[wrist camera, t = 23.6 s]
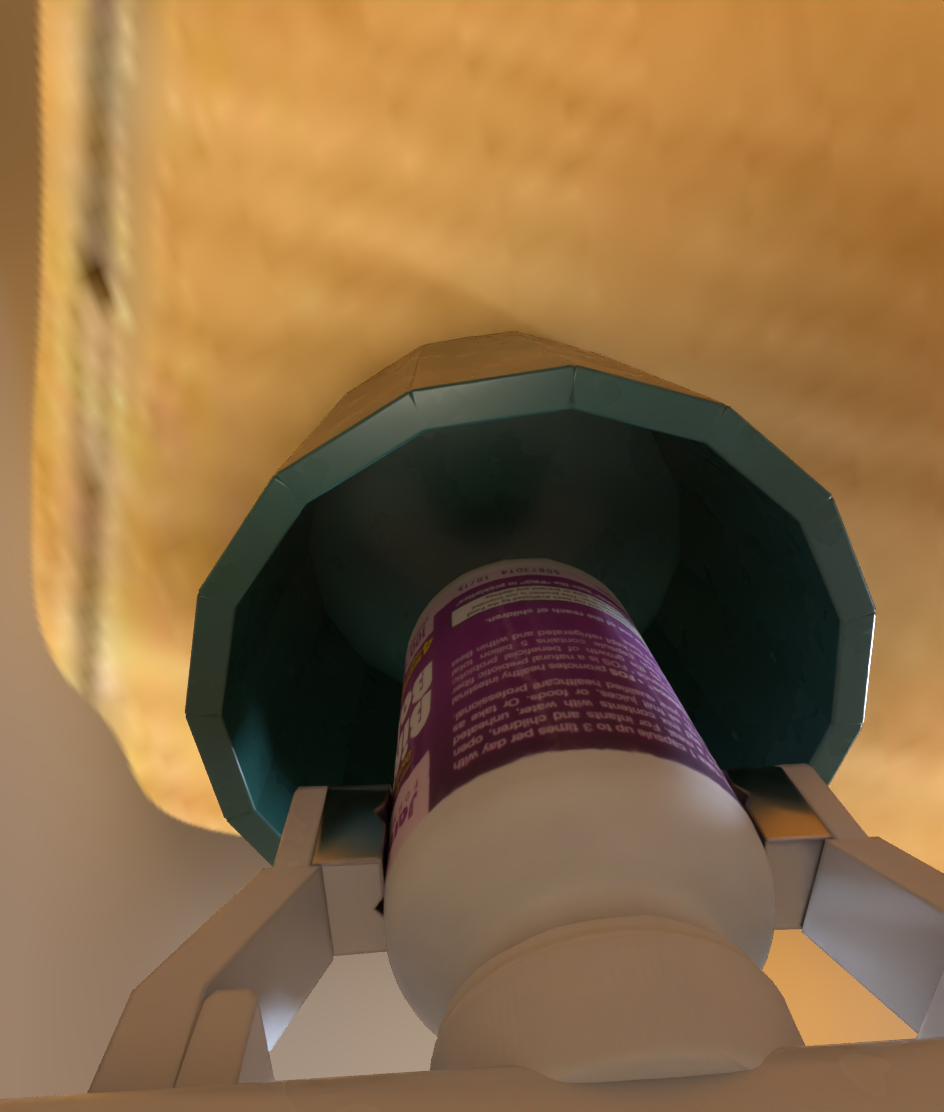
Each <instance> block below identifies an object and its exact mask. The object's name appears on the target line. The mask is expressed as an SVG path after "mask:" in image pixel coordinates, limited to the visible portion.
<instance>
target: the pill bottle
mask: <svg viewBox="0 0 944 1112" xmlns="http://www.w3.org/2000/svg"><path fill="white" fill-rule="evenodd" d="M775 912H776V901H775V890H774V881H773V876H772V871H771V867H770V864H769V861H768V858H767V855H766V852H765V849H764V847H763V845H762V842H761V840H760V838H759V836H758V834H757V832H756V830H755V827H754V825H753V823H752V821H751V819H750V818H749V816H748V814H747V812H746V811H745V809H744V807H743V805H742V804H741V802H740V801H739V799H738V798H737V797H736V795H735V794H734V792H733V790H732V789H731V787H730V785H729V783H728V782H727V780H726V778H725V777H724V775H723V773H722V771H721V770H720V768H719V767H718V765H717V763H716V761H715V760H714V758H713V757H712V755H711V753H710V752H709V750H708V748H707V746H706V745H705V743H704V741H703V740H702V738H701V736H700V735H699V733H698V732H697V730H696V728H695V727H694V725H693V723H692V722H691V720H690V718H689V716H688V715H687V713H686V711H685V709H684V708H683V706H682V704H681V703H680V701H679V699H678V698H677V696H676V694H675V693H674V691H673V689H672V688H671V686H670V684H669V683H668V681H667V679H666V677H665V676H664V674H663V672H662V671H661V669H660V667H659V665H658V664H657V662H656V660H655V659H654V657H653V655H652V654H651V652H650V650H649V649H648V647H647V645H646V644H645V642H644V640H643V638H642V636H641V635H640V633H639V631H638V630H637V628H636V626H635V625H634V623H633V621H632V620H631V618H630V616H629V615H628V613H627V612H626V610H625V608H624V607H623V606H622V604H621V603H620V601H619V600H618V599H617V598H616V596H615V595H614V594H613V593H612V592H611V591H610V590H609V589H608V588H607V587H606V586H605V585H604V584H603V583H601V582H600V581H599V580H597V579H596V578H595V577H593V576H591V575H589V574H587V573H585V572H584V571H582V570H580V569H577V568H575V567H573V566H570V565H568V564H565V563H561V562H558V561H554V560H551V559H547V558H522V559H509V560H501V561H498V562H494V563H491V564H487V565H484V566H481V567H478V568H476V569H473V570H471V571H469V572H466V573H464V574H462V575H460V576H459V577H458V578H456V579H455V580H454V581H452V582H451V583H449V584H448V585H447V586H445V587H444V588H443V589H442V590H441V591H440V592H439V593H438V594H437V595H436V596H435V597H434V598H433V599H432V600H431V601H430V603H429V604H428V605H427V607H426V608H425V609H424V611H423V612H422V614H421V615H420V617H419V619H418V621H417V623H416V625H415V627H414V629H413V631H412V634H411V637H410V640H409V643H408V648H407V654H406V661H405V670H404V679H403V688H402V698H401V710H400V719H399V729H398V742H397V753H396V761H395V774H394V785H393V793H392V810H391V818H390V825H389V842H388V855H387V864H386V874H385V884H384V918H383V923H384V937H385V945H386V950H387V954H388V957H389V962H390V965H391V968H392V971H393V974H394V976H395V979H396V982H397V984H398V986H399V988H400V990H401V992H402V994H403V995H404V997H405V999H406V1000H407V1002H408V1003H409V1005H410V1006H411V1008H412V1009H413V1011H414V1012H415V1013H416V1015H417V1016H418V1017H419V1018H420V1020H421V1021H422V1022H423V1023H424V1025H425V1026H426V1027H427V1028H428V1029H429V1030H431V1031H432V1032H433V1033H434V1034H435V1035H436V1036H437V1037H438V1039H437V1040H436V1043H435V1047H434V1051H433V1056H432V1059H431V1068H430V1071H433V1070H449V1069H464V1068H479V1067H494V1066H509V1065H513V1066H524V1067H527V1068H530V1069H533V1070H535V1071H537V1072H539V1073H541V1074H543V1075H545V1076H546V1077H549V1078H551V1079H554V1080H556V1081H560V1082H565V1083H596V1082H612V1081H626V1080H642V1079H660V1078H674V1077H686V1076H698V1075H710V1074H722V1073H732V1072H738V1071H745V1070H752V1069H754V1068H756V1067H758V1066H760V1065H761V1064H762V1062H763V1061H764V1059H765V1057H766V1056H767V1055H769V1054H770V1053H771V1052H772V1051H774V1050H775V1049H777V1048H783V1047H798V1046H805V1044H804V1042H803V1040H802V1037H801V1035H800V1033H799V1031H798V1029H797V1027H796V1025H795V1022H794V1020H793V1018H792V1015H791V1013H790V1011H789V1009H788V1006H787V1004H786V1002H785V999H784V997H783V996H782V994H781V993H780V991H779V990H778V988H777V987H776V985H775V984H774V983H773V981H772V980H771V979H770V978H769V977H768V976H767V975H766V974H765V973H764V972H763V971H762V969H763V967H764V965H765V963H766V960H767V958H768V954H769V950H770V947H771V943H772V939H773V933H774V927H775Z"/></svg>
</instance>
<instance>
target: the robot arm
mask: <svg viewBox="0 0 944 1112" xmlns="http://www.w3.org/2000/svg"><path fill="white" fill-rule="evenodd" d="M720 770H721V771H722V773H723V775H724V777H725V778H726V780H727V782H728V783H729V785H730V787H731V789H732V790H733V792H734V794H735V795H736V797H737V798H738V799H739V801H740V802H741V804H742V805H743V807H744V809H745V811H746V812H747V814H748V816H749V818H750V819H751V821H752V823H753V825H754V827H755V830H756V832H757V834H758V836H759V838H760V840H761V842H762V845H763V847H764V849H765V852H766V855H767V858H768V861H769V864H770V867H771V871H772V876H773V881H774V890H775V901H776V912H775V927H774V930H779V929H780V930H784V929H802V933H803V934H805V935H806V936H807V937H808V938H809V939H810V940H812V941H813V942H814V943H815V944H816V945H817V946H819V948H821V949H822V950H823V951H824V952H825V953H826V954H827V955H828V956H830V957H831V958H832V959H833V960H834V961H835V962H837V963H838V964H839V965H840V966H841V967H842V968H843V969H844V970H846V971H847V972H848V973H849V974H850V975H851V976H853V977H854V978H855V979H856V980H857V981H858V982H859V983H860V984H862V985H863V986H864V987H865V988H866V989H868V991H870V992H871V993H872V994H873V995H874V996H875V997H876V998H878V999H879V1000H880V1001H881V1002H882V1003H883V1004H884V1005H885V1006H887V1007H888V1008H889V1009H890V1010H891V1011H892V1012H893V1013H895V1014H896V1015H897V1016H898V1017H899V1018H900V1019H902V1020H903V1021H904V1022H905V1023H906V1024H907V1025H908V1026H909V1027H911V1028H912V1029H913V1030H914V1031H915V1032H916V1033H917V1034H918V1035H917V1038H916V1039H901V1040H888V1041H872V1042H857V1043H843V1044H829V1045H814V1046H798V1047H783V1048H777V1049H775V1050H774V1051H772V1052H771V1053H770V1054H769V1055H767V1056H766V1057H765V1059H764V1061H763V1062H762V1064H761V1065H760V1066H758V1067H756V1068H754V1069H752V1070H745V1071H738V1072H732V1073H722V1074H710V1075H698V1076H686V1077H674V1078H660V1079H642V1080H626V1081H612V1082H596V1083H565V1082H560V1081H556V1080H554V1079H551V1078H549V1077H546V1076H545V1075H543V1074H541V1073H539V1072H537V1071H535V1070H533V1069H530V1068H527V1067H524V1066H513V1065H509V1066H494V1067H479V1068H464V1069H449V1070H433V1071H419V1072H403V1073H388V1074H373V1075H358V1076H343V1077H328V1078H312V1079H299V1080H283V1081H275V1080H274V1075H273V1070H272V1065H271V1060H270V1055H269V1052H270V1051H271V1049H272V1048H273V1047H274V1045H275V1043H276V1042H277V1041H278V1039H279V1038H280V1036H281V1035H282V1033H283V1032H284V1031H285V1029H286V1028H287V1026H288V1025H289V1023H290V1022H291V1020H292V1019H293V1018H294V1016H295V1014H296V1013H297V1012H298V1010H299V1008H300V1007H301V1006H302V1004H303V1003H304V1001H305V1000H306V999H307V997H308V996H309V994H310V993H311V991H312V990H313V988H314V987H315V986H316V984H317V983H318V981H319V980H320V978H321V977H322V975H323V974H324V973H325V971H326V970H327V968H328V967H329V965H330V964H331V962H332V961H333V956H338V955H339V956H340V955H351V954H363V953H374V952H385V951H387V950H386V945H385V937H384V923H383V918H384V884H385V874H386V864H387V855H388V842H389V825H390V818H391V810H392V789H391V785H390V784H364V785H330V786H302V787H298V788H297V790H296V791H295V793H294V795H293V799H292V802H291V806H290V809H289V813H288V816H287V820H286V823H285V827H284V830H283V834H282V837H281V841H280V844H279V848H278V851H277V855H276V858H275V862H274V865H273V868H264V869H262V870H261V871H260V872H259V873H258V874H257V875H256V876H255V877H254V878H253V879H251V881H249V882H248V883H247V884H246V885H245V886H244V887H243V888H242V889H241V890H240V891H239V892H238V893H237V894H235V895H234V896H233V897H232V898H231V899H230V900H229V901H228V902H227V903H226V904H225V905H224V906H223V907H222V908H220V910H218V911H217V912H216V913H215V914H214V915H213V916H212V917H211V918H210V919H209V920H208V921H207V922H206V923H204V924H203V925H202V926H201V927H200V928H199V929H198V930H197V931H196V932H195V933H194V934H193V935H192V936H191V937H190V938H188V939H187V940H186V941H185V942H184V943H183V944H182V945H181V946H180V947H179V948H178V949H177V950H176V951H175V952H173V953H172V954H171V955H170V956H169V957H168V958H167V959H166V960H165V961H164V962H163V963H162V964H161V965H160V966H159V967H157V968H156V969H155V970H154V971H153V972H152V973H151V974H150V975H149V976H148V977H147V978H146V979H145V980H144V981H142V982H141V984H139V985H138V986H137V987H136V988H135V989H134V990H133V991H132V992H131V995H130V997H129V999H128V1002H127V1004H126V1006H125V1008H124V1011H123V1013H122V1015H121V1017H120V1020H119V1022H118V1024H117V1026H116V1029H115V1031H114V1033H113V1036H112V1038H111V1040H110V1042H109V1045H108V1047H107V1049H106V1052H105V1054H104V1056H103V1059H102V1061H101V1063H100V1065H99V1067H98V1070H97V1072H96V1074H95V1077H94V1079H93V1081H92V1083H91V1086H90V1088H89V1090H88V1092H87V1093H86V1094H71V1095H57V1096H56V1095H55V1096H41V1097H25V1098H10V1099H0V1112H944V874H943V873H942V872H940V871H938V870H936V869H934V868H933V867H931V866H929V865H927V864H926V863H924V862H922V861H920V860H918V859H917V858H915V857H913V856H911V855H910V854H908V853H906V852H904V851H903V850H901V849H899V848H897V847H895V846H894V845H892V844H890V843H888V842H887V841H885V840H883V839H881V838H879V837H868V836H867V834H866V833H865V832H864V831H863V829H862V828H861V827H860V826H859V824H858V823H857V822H856V821H855V819H854V818H853V817H852V816H851V814H850V813H849V812H848V811H847V810H846V808H845V807H844V806H843V805H842V803H841V802H840V801H839V800H838V798H837V797H836V796H835V795H834V793H833V792H832V791H831V790H830V788H829V787H828V786H827V785H826V784H825V782H824V781H823V780H822V779H821V777H820V776H819V775H818V774H817V772H816V771H815V770H814V769H813V768H812V767H811V766H809V765H808V764H806V763H800V764H784V765H775V766H759V767H740V768H722V769H720Z"/></svg>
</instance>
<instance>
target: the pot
mask: <svg viewBox="0 0 944 1112" xmlns="http://www.w3.org/2000/svg"><path fill="white" fill-rule="evenodd" d="M522 558H547V559H551V560H554V561H558V562H561V563H565V564H568V565H570V566H573V567H575V568H577V569H580V570H582V571H584V572H585V573H587V574H589V575H591V576H593V577H595V578H596V579H597V580H599V581H600V582H601V583H603V584H604V585H605V586H606V587H607V588H608V589H609V590H610V591H611V592H612V593H613V594H614V595H615V596H616V598H617V599H618V600H619V601H620V603H621V604H622V606H623V607H624V608H625V610H626V612H627V613H628V615H629V616H630V618H631V620H632V621H633V623H634V625H635V626H636V628H637V630H638V631H639V633H640V635H641V636H642V638H643V640H644V642H645V644H646V645H647V647H648V649H649V650H650V652H651V654H652V655H653V657H654V659H655V660H656V662H657V664H658V665H659V667H660V669H661V671H662V672H663V674H664V676H665V677H666V679H667V681H668V683H669V684H670V686H671V688H672V689H673V691H674V693H675V694H676V696H677V698H678V699H679V701H680V703H681V704H682V706H683V708H684V709H685V711H686V713H687V715H688V716H689V718H690V720H691V722H692V723H693V725H694V727H695V728H696V730H697V732H698V733H699V735H700V736H701V738H702V740H703V741H704V743H705V745H706V746H707V748H708V750H709V752H710V753H711V755H712V757H713V758H714V760H715V761H716V763H717V765H718V767H719V768H720V769H722V768H740V767H759V766H775V765H784V764H800V763H806V764H808V765H809V766H811V767H812V768H813V769H814V770H815V771H816V772H817V774H818V775H819V776H820V777H821V779H822V780H823V781H824V782H825V784H826V785H827V786H829V784H830V782H831V781H832V779H833V777H834V775H835V774H836V772H837V770H838V768H839V767H840V765H841V763H842V761H843V760H844V758H845V756H846V754H847V753H848V751H849V749H850V748H851V746H852V744H853V742H854V741H855V739H856V737H857V735H858V734H859V732H860V730H861V728H862V723H863V722H864V718H865V709H866V700H867V691H868V682H869V673H870V664H871V655H872V646H873V637H874V628H875V619H876V613H875V610H876V608H875V605H874V603H873V600H872V597H871V595H870V592H869V590H868V587H867V584H866V582H865V579H864V576H863V574H862V571H861V569H860V566H859V563H858V561H857V558H856V556H855V553H854V550H853V548H852V545H851V543H850V540H849V537H848V535H847V532H846V530H845V527H844V524H843V522H842V519H841V517H840V514H839V511H838V509H837V506H836V504H835V501H834V498H832V496H831V494H830V493H829V492H828V491H827V490H826V489H825V488H824V487H822V486H821V485H820V484H819V483H818V482H817V481H815V480H814V479H813V478H812V477H811V476H810V475H809V474H807V473H806V472H805V471H804V470H803V469H802V468H800V467H799V466H798V465H797V464H796V463H795V462H793V461H792V460H791V459H790V458H789V457H788V456H787V455H785V454H784V453H783V452H782V451H781V450H780V449H778V448H777V447H776V446H775V445H774V444H773V443H771V442H770V441H769V440H768V439H767V438H766V437H765V436H763V435H762V434H761V433H760V432H759V431H758V430H756V429H755V428H754V427H753V426H752V425H751V424H749V423H748V422H747V421H746V420H745V419H744V418H743V417H741V416H740V415H739V414H738V413H737V412H736V411H734V410H733V409H732V408H731V407H730V406H727V405H725V404H724V403H721V402H719V401H716V400H714V399H711V398H709V397H706V396H704V395H701V394H699V393H696V392H694V391H691V390H689V389H686V388H684V387H681V386H679V385H676V384H674V383H671V382H669V381H666V380H664V379H661V378H659V377H656V376H654V375H651V374H648V373H646V372H643V371H641V370H638V369H636V368H633V367H631V366H628V365H626V364H623V363H621V362H618V361H616V360H613V359H611V358H608V357H606V356H603V355H601V354H597V353H594V352H590V351H586V350H583V349H579V348H575V347H571V346H568V345H564V344H561V343H558V342H554V341H549V340H545V339H542V338H538V337H534V336H531V335H527V334H523V333H519V332H505V333H499V334H492V335H486V336H475V337H466V338H461V339H457V340H453V341H448V342H441V343H435V344H428V345H424V346H423V347H422V346H421V347H419V348H418V349H416V350H414V351H413V352H411V353H410V354H408V355H407V356H405V357H403V358H402V359H400V360H399V361H397V362H395V363H394V364H392V365H390V366H388V367H386V368H384V369H383V370H382V371H380V372H379V373H378V374H376V375H375V376H374V377H372V378H370V379H369V380H367V381H366V382H364V383H363V384H361V385H359V386H358V387H356V388H355V389H353V390H352V391H350V392H348V393H347V394H346V395H345V396H344V397H343V398H342V399H341V400H340V402H339V403H338V404H337V405H336V406H335V407H334V408H333V409H332V411H331V412H330V413H329V414H328V415H327V416H326V417H325V418H324V420H323V421H322V422H321V423H320V424H319V425H318V426H317V427H316V429H315V430H314V431H313V432H312V433H311V434H310V435H309V436H308V438H307V439H306V440H305V441H304V442H303V443H302V444H301V445H300V447H299V448H298V449H297V450H296V451H295V452H294V453H293V454H292V456H291V457H290V458H289V459H288V460H287V461H286V462H285V463H284V465H283V466H282V467H281V468H280V469H279V470H278V471H277V472H276V474H275V475H274V476H273V477H272V479H271V480H270V482H269V483H268V485H267V486H266V488H265V489H264V491H263V492H262V494H261V495H260V497H259V499H258V500H257V502H256V503H255V505H254V506H253V508H252V509H251V511H250V512H249V514H248V515H247V517H246V518H245V520H244V522H243V523H242V525H241V526H240V528H239V529H238V531H237V532H236V534H235V535H234V537H233V538H232V540H231V541H230V543H229V545H228V546H227V548H226V549H225V551H224V552H223V554H222V555H221V557H220V558H219V560H218V561H217V563H216V565H215V566H214V568H213V569H212V571H211V572H210V574H209V575H208V577H207V578H206V580H205V581H204V583H203V584H202V586H201V588H200V589H199V593H198V595H197V603H196V612H195V622H194V631H193V640H192V650H191V659H190V669H189V678H188V687H187V697H186V706H185V714H186V719H187V722H188V724H189V727H190V730H191V732H192V735H193V737H194V740H195V743H196V745H197V748H198V750H199V753H200V756H201V758H202V761H203V763H204V766H205V769H206V771H207V774H208V777H209V779H210V782H211V784H212V787H213V790H214V792H215V795H216V797H217V800H218V803H219V805H220V808H221V810H222V813H223V816H224V818H226V819H227V822H228V823H229V824H230V825H231V826H232V827H233V828H234V829H235V830H236V831H237V832H238V833H239V834H240V835H241V836H242V837H243V838H244V839H245V840H246V841H248V842H249V844H250V845H251V846H252V847H254V849H256V850H257V852H258V853H259V854H260V855H261V856H263V857H264V858H265V860H266V861H267V862H268V863H270V864H271V865H272V866H273V865H274V862H275V858H276V855H277V851H278V848H279V844H280V841H281V837H282V834H283V830H284V827H285V823H286V820H287V816H288V813H289V809H290V806H291V802H292V799H293V795H294V793H295V791H296V790H297V788H298V787H302V786H330V785H364V784H390V785H391V789H392V793H393V785H394V774H395V761H396V753H397V742H398V729H399V719H400V710H401V698H402V688H403V679H404V670H405V661H406V654H407V648H408V643H409V640H410V637H411V634H412V631H413V629H414V627H415V625H416V623H417V621H418V619H419V617H420V615H421V614H422V612H423V611H424V609H425V608H426V607H427V605H428V604H429V603H430V601H431V600H432V599H433V598H434V597H435V596H436V595H437V594H438V593H439V592H440V591H441V590H442V589H443V588H444V587H445V586H447V585H448V584H449V583H451V582H452V581H454V580H455V579H456V578H458V577H459V576H460V575H462V574H464V573H466V572H469V571H471V570H473V569H476V568H478V567H481V566H484V565H487V564H491V563H494V562H498V561H501V560H509V559H522Z"/></svg>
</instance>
